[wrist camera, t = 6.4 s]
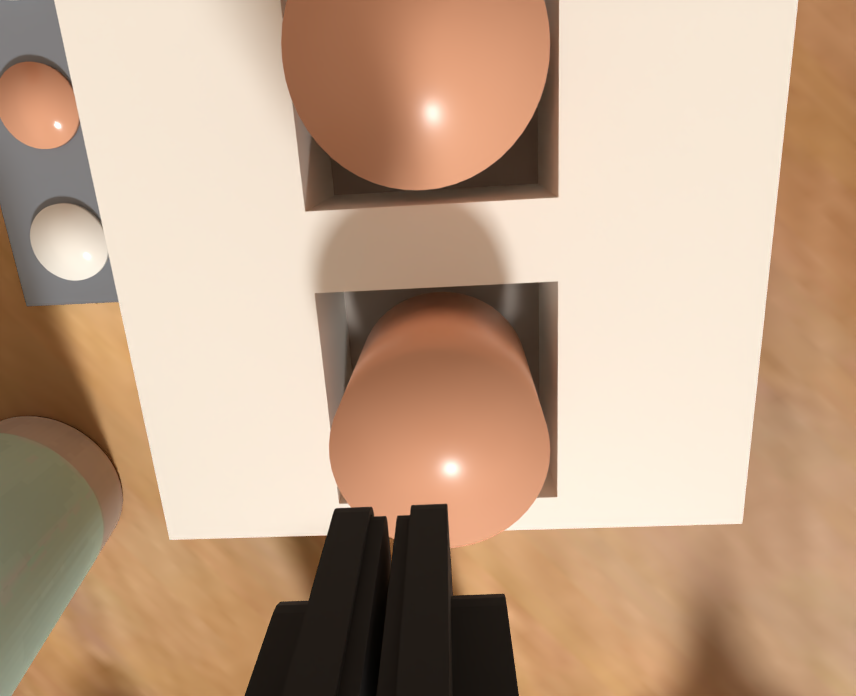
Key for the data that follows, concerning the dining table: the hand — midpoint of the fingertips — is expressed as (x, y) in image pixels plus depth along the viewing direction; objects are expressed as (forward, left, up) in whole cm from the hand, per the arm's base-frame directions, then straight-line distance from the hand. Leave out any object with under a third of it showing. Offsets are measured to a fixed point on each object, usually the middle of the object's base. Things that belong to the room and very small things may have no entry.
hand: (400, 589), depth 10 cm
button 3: (0, 0, -10) cm, 10 cm away
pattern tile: (+11, -8, -13) cm, 19 cm away
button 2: (0, -8, -10) cm, 12 cm away
